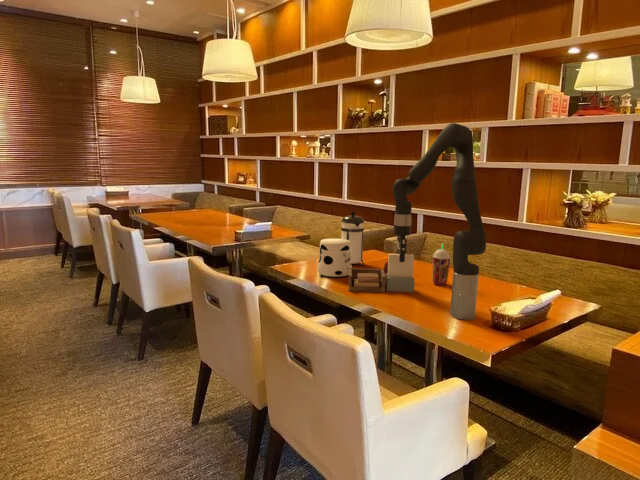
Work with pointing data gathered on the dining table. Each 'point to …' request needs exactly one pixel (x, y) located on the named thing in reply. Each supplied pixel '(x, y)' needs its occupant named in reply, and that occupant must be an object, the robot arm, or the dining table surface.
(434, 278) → the smoothie
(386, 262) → the apple
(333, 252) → the milk container
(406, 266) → the cream rectangular board
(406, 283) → the holder
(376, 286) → the offcut large
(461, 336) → the dining table surface
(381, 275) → the box
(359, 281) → the offcut small
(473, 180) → the robot arm
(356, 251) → the coffee press
